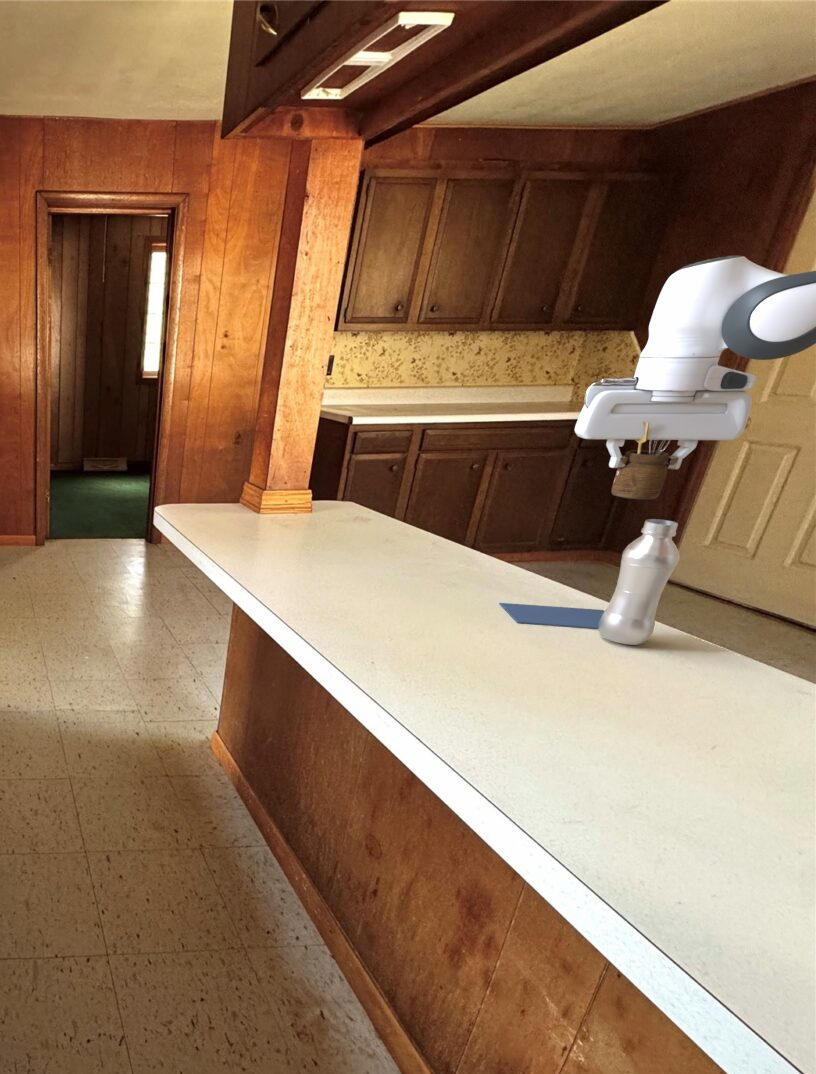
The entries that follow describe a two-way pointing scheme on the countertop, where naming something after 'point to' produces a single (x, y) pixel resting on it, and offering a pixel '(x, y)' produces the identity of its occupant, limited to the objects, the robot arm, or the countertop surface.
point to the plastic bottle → (640, 584)
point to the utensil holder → (641, 473)
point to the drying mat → (554, 615)
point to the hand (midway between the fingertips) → (643, 468)
